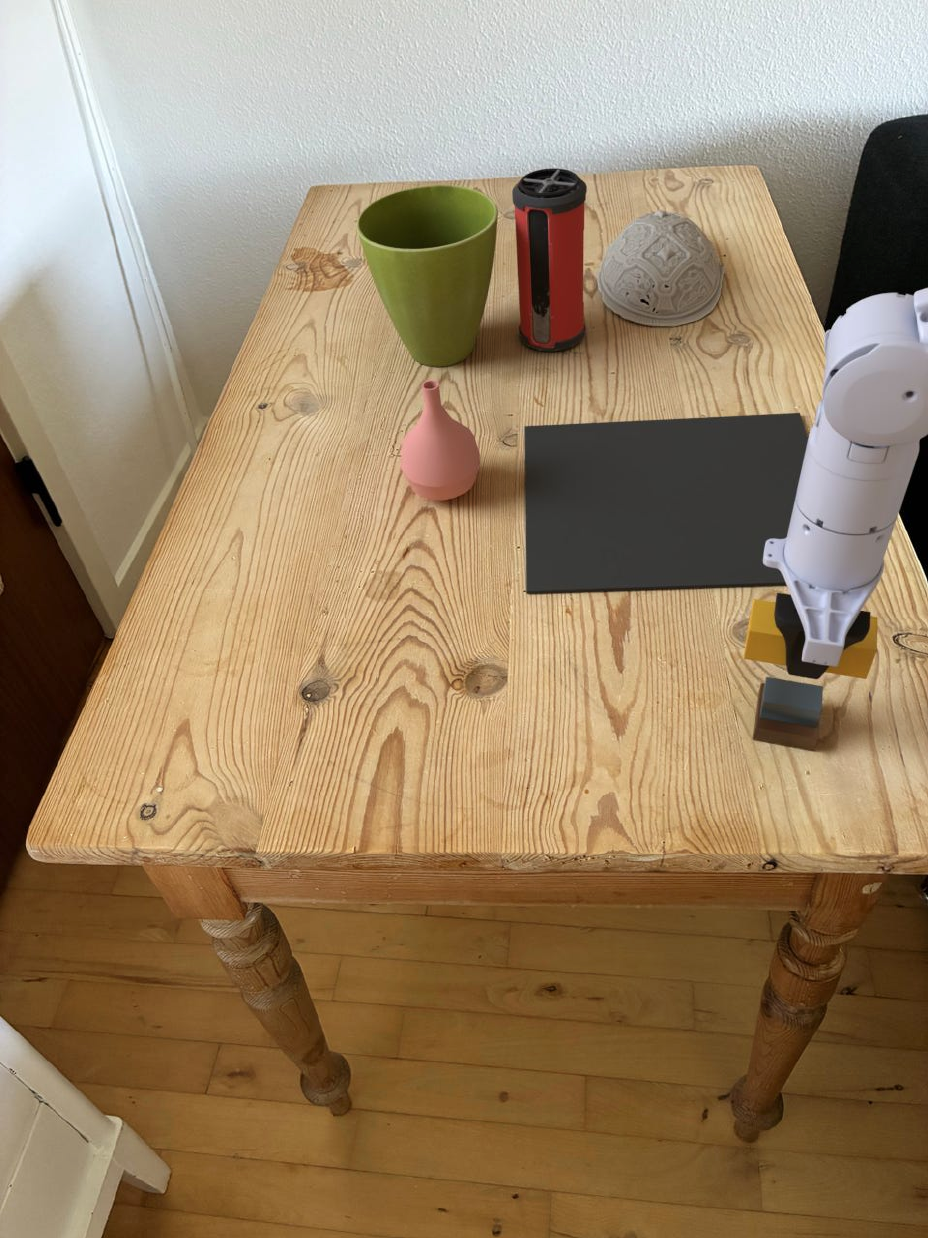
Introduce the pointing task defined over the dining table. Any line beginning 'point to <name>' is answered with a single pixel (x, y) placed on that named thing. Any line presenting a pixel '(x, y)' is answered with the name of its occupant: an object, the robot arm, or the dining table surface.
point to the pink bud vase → (439, 451)
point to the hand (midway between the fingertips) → (805, 653)
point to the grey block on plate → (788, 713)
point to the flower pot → (432, 266)
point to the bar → (771, 648)
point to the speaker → (550, 258)
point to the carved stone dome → (661, 271)
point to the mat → (659, 502)
